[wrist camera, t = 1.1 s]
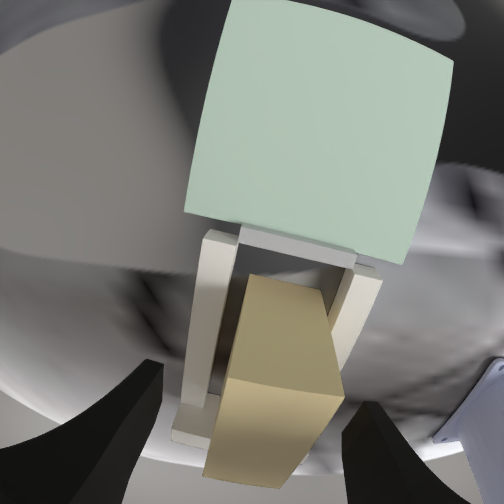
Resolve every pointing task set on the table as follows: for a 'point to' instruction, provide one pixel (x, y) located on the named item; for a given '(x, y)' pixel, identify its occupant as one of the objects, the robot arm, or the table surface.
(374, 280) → the dispenser
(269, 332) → the tan rectangular block
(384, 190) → the mat
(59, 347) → the table surface
